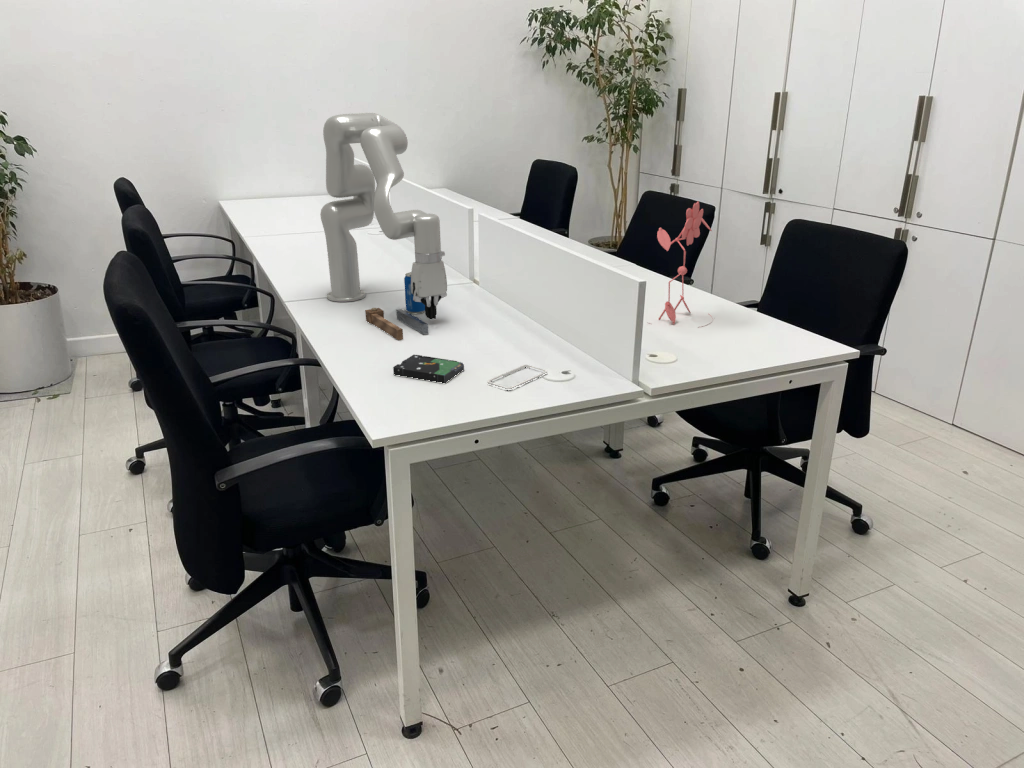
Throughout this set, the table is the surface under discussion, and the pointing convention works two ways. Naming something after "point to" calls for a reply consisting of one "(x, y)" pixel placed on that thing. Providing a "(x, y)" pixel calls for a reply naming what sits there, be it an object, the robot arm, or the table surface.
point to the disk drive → (428, 368)
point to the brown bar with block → (383, 323)
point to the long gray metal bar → (412, 321)
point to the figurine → (690, 232)
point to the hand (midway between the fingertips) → (431, 318)
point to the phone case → (514, 371)
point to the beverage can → (411, 297)
